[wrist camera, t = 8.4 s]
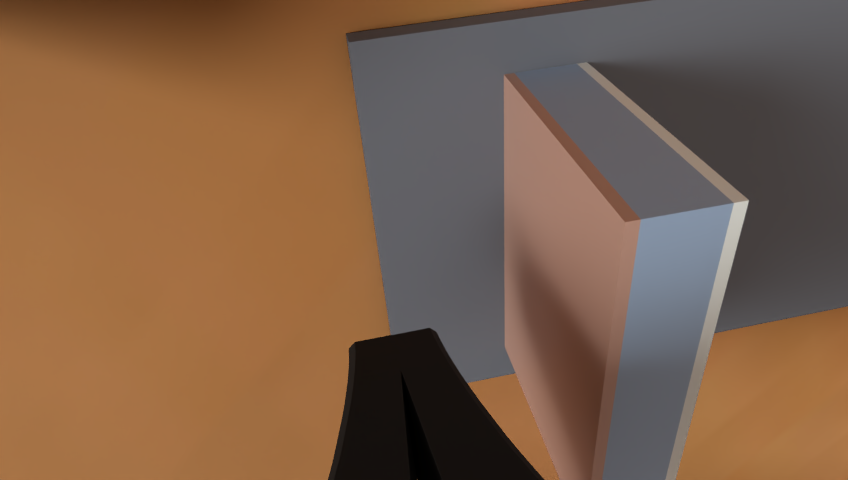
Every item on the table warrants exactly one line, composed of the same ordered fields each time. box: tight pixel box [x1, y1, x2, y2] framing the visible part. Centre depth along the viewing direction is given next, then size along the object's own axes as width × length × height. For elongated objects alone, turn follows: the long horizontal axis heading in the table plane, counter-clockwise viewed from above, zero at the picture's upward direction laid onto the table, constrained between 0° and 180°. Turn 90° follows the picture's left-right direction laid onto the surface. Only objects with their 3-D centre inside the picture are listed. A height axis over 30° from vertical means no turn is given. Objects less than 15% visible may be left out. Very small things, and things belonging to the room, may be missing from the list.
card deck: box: [504, 62, 749, 480], centre depth 12 cm, size 7×2×5 cm, turn 4°
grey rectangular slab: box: [346, 0, 848, 383], centre depth 14 cm, size 9×14×1 cm, turn 94°
